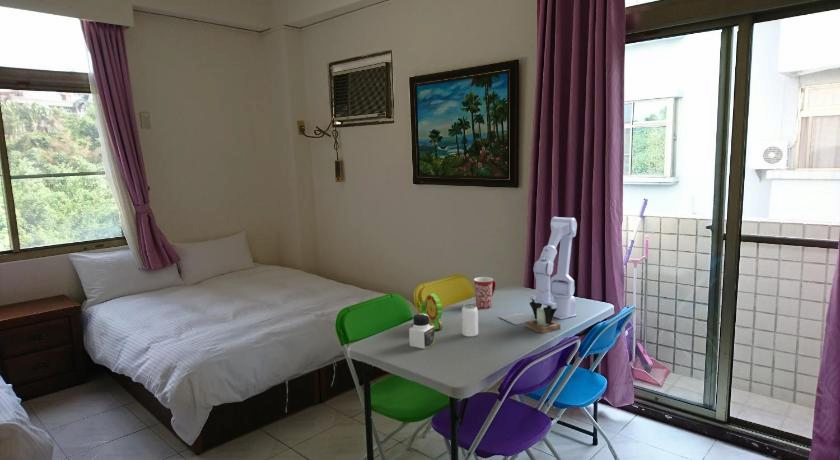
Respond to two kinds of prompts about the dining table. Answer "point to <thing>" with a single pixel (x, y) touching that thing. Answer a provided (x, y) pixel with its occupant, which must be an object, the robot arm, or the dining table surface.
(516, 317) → the mat
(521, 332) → the dining table surface
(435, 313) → the toy lion
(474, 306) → the can
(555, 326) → the frame
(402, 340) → the dining table surface
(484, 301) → the mug
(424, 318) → the medicine bottle
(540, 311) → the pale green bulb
